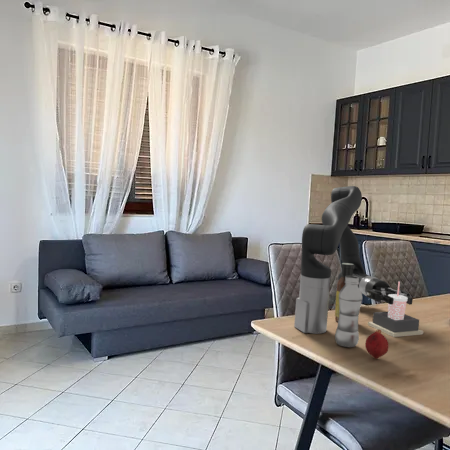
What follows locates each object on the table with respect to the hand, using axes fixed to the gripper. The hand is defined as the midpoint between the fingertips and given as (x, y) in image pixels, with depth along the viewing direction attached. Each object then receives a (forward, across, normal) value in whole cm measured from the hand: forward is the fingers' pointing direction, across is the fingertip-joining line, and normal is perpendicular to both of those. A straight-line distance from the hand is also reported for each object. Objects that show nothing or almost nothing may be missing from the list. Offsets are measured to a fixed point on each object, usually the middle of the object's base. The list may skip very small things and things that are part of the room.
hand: (401, 301), depth 140 cm
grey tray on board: (-2, 0, +10) cm, 10 cm away
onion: (+21, -20, +10) cm, 31 cm away
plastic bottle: (+11, -24, +10) cm, 28 cm away
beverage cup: (-2, 0, +8) cm, 9 cm away
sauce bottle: (-11, -14, +10) cm, 20 cm away
